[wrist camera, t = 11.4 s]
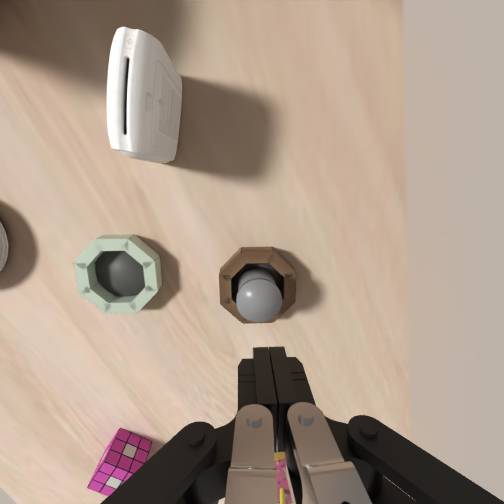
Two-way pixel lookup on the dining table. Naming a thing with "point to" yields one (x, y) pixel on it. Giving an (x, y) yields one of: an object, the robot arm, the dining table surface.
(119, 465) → the puzzle toy
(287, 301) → the walnut ring
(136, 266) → the sage ring
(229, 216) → the dining table surface
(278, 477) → the cupcake
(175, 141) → the photo printer
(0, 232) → the lid
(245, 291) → the cap
